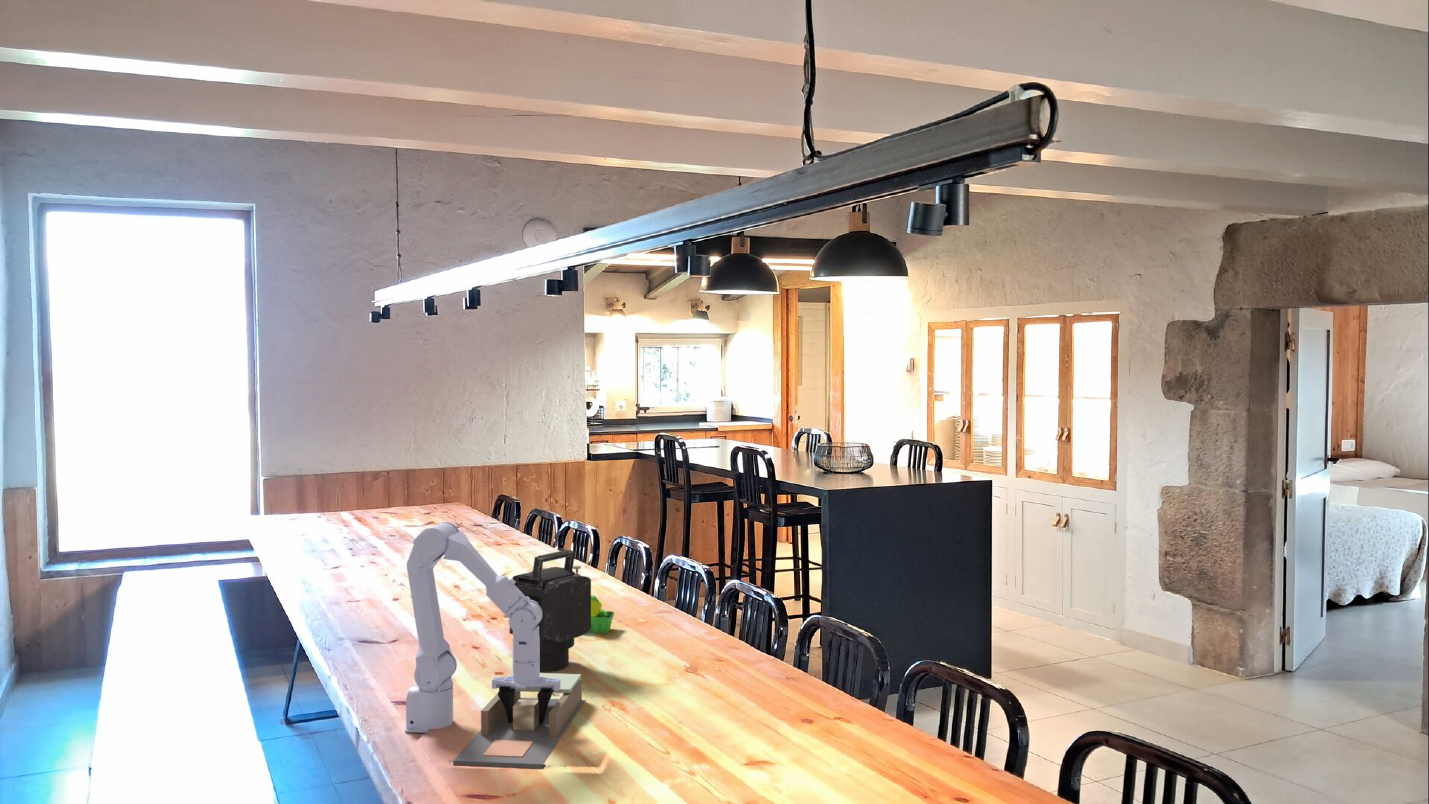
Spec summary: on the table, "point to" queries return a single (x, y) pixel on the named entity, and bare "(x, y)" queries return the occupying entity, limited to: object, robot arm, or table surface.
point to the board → (519, 734)
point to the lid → (565, 682)
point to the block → (525, 714)
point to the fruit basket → (599, 617)
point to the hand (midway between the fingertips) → (526, 722)
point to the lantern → (558, 607)
